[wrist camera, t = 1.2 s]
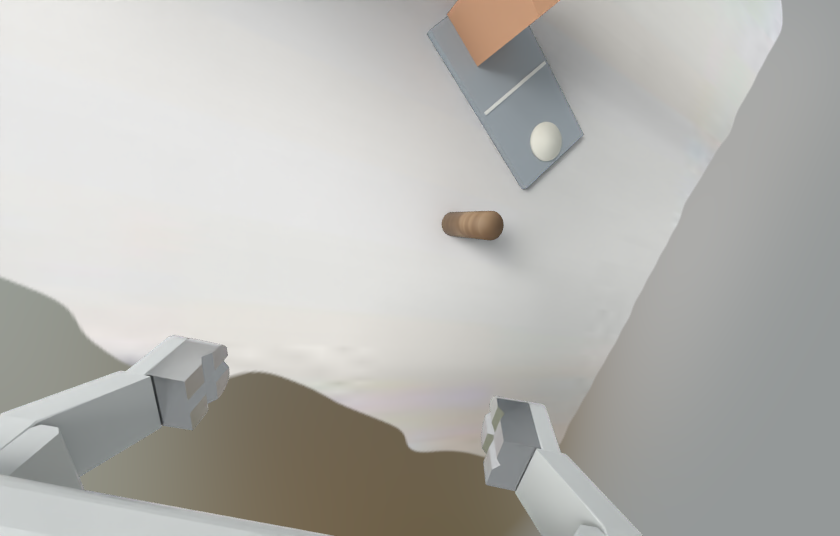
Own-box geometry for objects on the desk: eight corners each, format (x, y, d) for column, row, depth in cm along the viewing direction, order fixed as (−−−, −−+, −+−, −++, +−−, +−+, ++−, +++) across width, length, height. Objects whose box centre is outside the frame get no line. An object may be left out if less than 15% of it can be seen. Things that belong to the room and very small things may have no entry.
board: (426, 33, 39) (454, -3, 33) (498, -21, 41) (537, -65, 35) (521, 188, 47) (559, 184, 40) (578, 136, 49) (622, 123, 42)
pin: (437, 222, 43) (473, 223, 35) (454, 207, 43) (493, 204, 35) (450, 240, 44) (488, 246, 36) (467, 225, 44) (508, 227, 36)
